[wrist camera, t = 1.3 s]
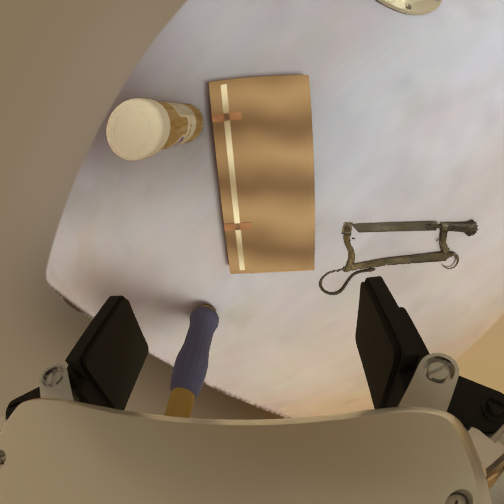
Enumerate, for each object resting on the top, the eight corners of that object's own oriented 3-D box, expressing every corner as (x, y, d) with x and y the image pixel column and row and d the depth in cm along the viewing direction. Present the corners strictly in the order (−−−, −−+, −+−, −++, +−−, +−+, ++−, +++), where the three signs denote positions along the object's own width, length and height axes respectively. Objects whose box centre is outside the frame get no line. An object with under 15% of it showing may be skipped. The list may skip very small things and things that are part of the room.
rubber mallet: (253, 297, 39) (230, 537, 12) (247, 337, 42) (225, 542, 15) (163, 283, 39) (66, 490, 12) (166, 324, 42) (96, 509, 15)
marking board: (212, 84, 27) (208, 81, 25) (306, 77, 26) (308, 74, 24) (232, 265, 37) (230, 274, 35) (312, 262, 36) (314, 270, 34)
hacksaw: (476, 218, 32) (481, 222, 30) (462, 280, 36) (466, 285, 35) (319, 222, 34) (321, 226, 33) (318, 294, 38) (319, 300, 37)
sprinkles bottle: (187, 150, 31) (136, 174, 19) (157, 126, 29) (93, 138, 17) (213, 119, 29) (175, 122, 17) (182, 95, 28) (127, 85, 16)
